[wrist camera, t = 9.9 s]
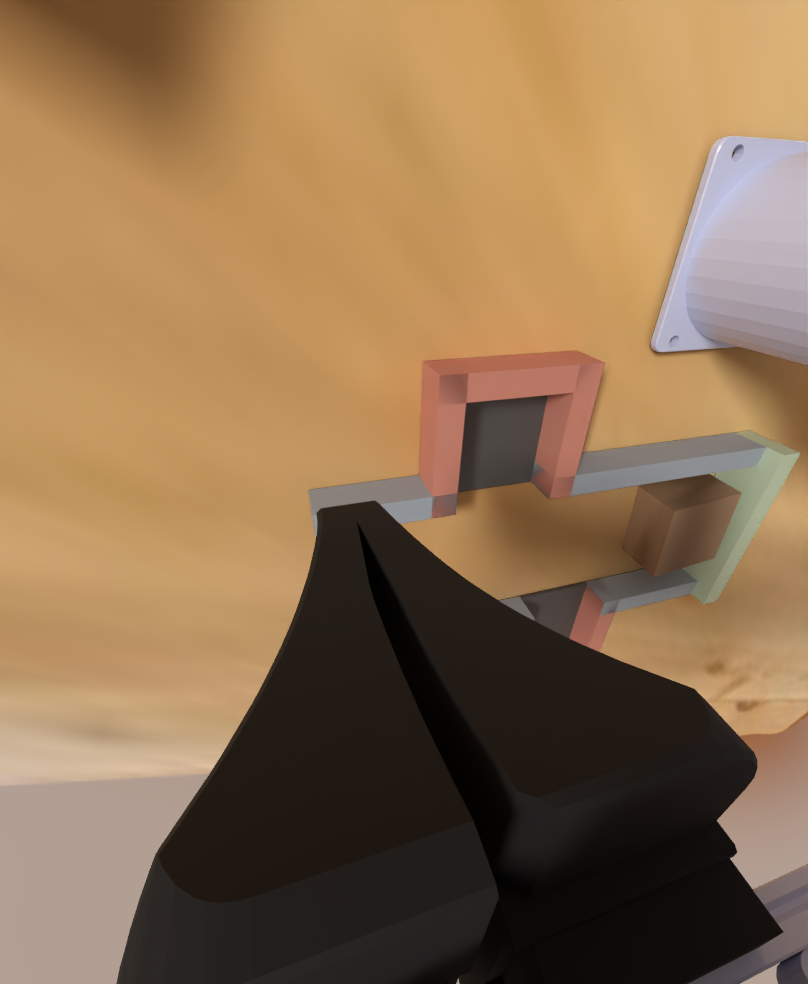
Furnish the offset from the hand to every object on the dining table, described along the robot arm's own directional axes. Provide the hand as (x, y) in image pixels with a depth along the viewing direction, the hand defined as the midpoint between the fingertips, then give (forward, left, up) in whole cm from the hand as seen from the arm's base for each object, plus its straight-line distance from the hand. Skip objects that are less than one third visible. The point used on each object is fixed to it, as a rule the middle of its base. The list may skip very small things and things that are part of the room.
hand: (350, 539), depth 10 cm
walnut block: (-21, +9, -10) cm, 25 cm away
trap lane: (-13, +10, -9) cm, 19 cm away
